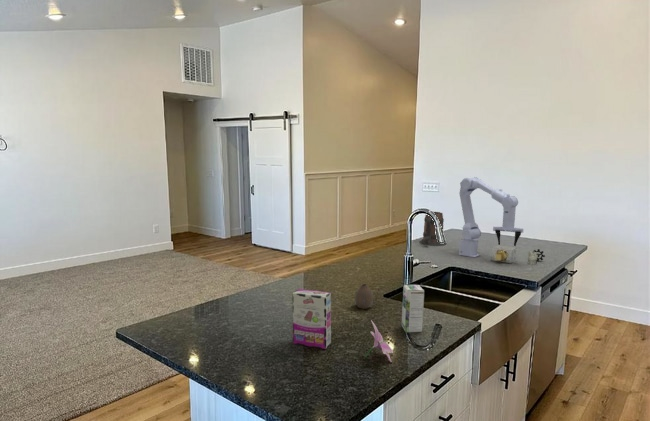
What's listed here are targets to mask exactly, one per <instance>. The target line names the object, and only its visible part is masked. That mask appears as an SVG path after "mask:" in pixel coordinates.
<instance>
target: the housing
mask: <svg viewBox="0 0 650 421" xmlns="http://www.w3.org/2000/svg"><path fill="white" fill-rule="evenodd" d="M491 250H492V252H491V261H495V262H501V263H505V264H506V263H507V264H512V263H514V262H516V258H517V247H515V246H505V245H501V244H500V245H498V244H497V245H495V246H493V247H492V249H491ZM500 250H502V251H505V252H506V255H507V257H506V259H505V260H504V261H499V260H495V254H496V252H497V251H500Z"/></svg>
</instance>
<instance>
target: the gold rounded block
mask: <svg viewBox="0 0 650 421" xmlns="http://www.w3.org/2000/svg"><path fill="white" fill-rule="evenodd" d="M506 257H507V255H506V252H505V251H502V250H500V251H497V252H496V254H495V260H499V261H498V262H500V261H504V260H505V259H506Z"/></svg>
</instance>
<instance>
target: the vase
mask: <svg viewBox="0 0 650 421" xmlns="http://www.w3.org/2000/svg"><path fill="white" fill-rule="evenodd" d="M354 294H355V295H354V303H355V305H356V306H357V307H358V308H359V309H364V310H366V309H369V308H370V307H372V305H373V301H374V294H373V291H372V290H371V289H370V288H369V286H368V284H366V283H361V284H360V286H359V287H358V289H357V290H356V292H355V293H354Z"/></svg>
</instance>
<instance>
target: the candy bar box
mask: <svg viewBox="0 0 650 421" xmlns="http://www.w3.org/2000/svg"><path fill="white" fill-rule="evenodd" d="M292 344H293V345H299V346H303V347H304V346H305V347H310V348H316V349H321V350H323V349H324V350H326V349H328V347H329V346H330V345H331V344H332V292H327V291H320V290H310V289H303V288H302V289H301V288H298V289H296V290H295V291H293V293H292Z"/></svg>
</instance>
